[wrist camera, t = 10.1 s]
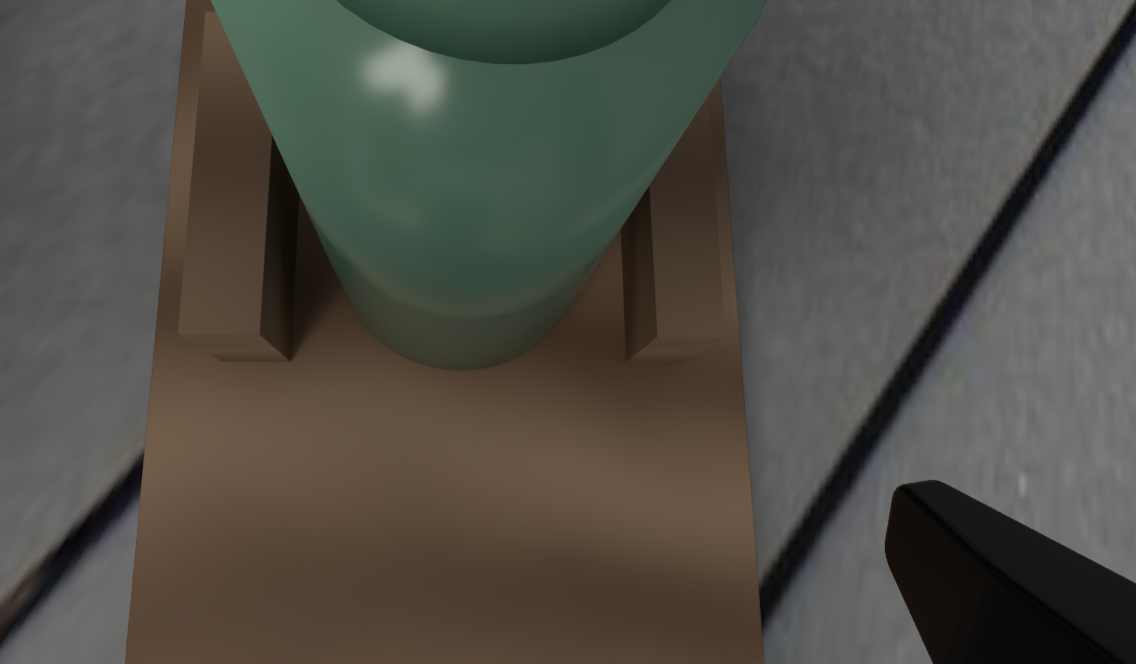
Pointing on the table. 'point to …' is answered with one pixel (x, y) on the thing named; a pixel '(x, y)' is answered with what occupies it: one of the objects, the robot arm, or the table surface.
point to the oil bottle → (476, 146)
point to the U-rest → (435, 437)
